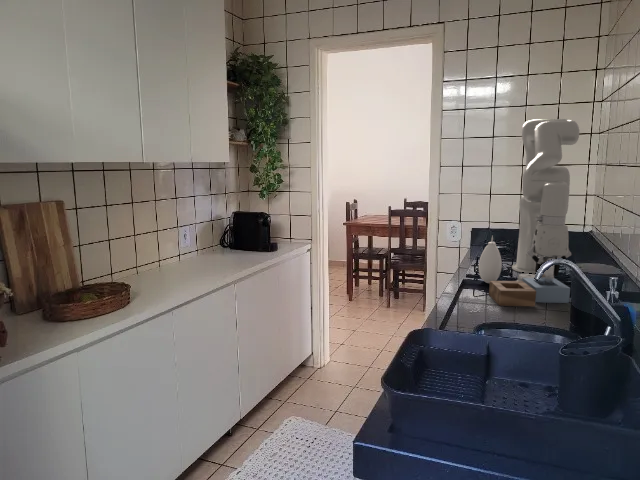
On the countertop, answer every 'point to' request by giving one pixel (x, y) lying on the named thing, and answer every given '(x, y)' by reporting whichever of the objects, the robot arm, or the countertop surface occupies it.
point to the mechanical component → (525, 276)
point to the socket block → (549, 291)
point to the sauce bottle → (490, 263)
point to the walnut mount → (512, 293)
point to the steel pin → (547, 273)
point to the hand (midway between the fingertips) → (546, 274)
